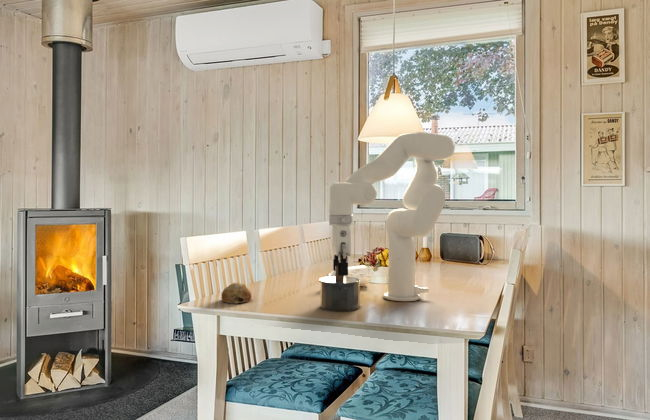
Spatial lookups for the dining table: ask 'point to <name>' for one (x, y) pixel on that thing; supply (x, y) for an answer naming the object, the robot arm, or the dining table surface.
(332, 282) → the pan lid
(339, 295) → the pan
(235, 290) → the brown rounded lump
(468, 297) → the dining table surface
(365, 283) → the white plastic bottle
